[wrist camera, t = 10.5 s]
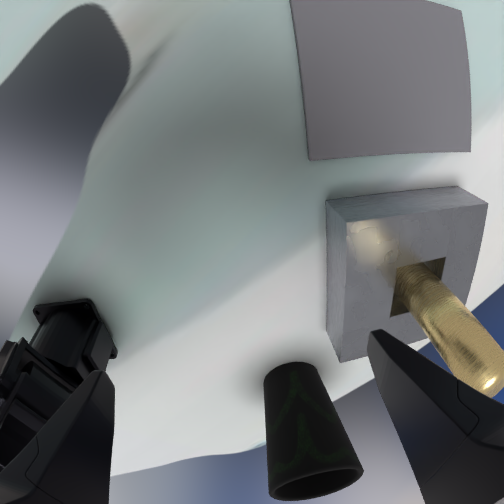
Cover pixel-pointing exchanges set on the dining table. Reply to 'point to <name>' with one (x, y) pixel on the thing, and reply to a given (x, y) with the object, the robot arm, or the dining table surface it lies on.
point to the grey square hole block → (395, 258)
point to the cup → (305, 436)
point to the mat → (382, 77)
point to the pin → (451, 329)
